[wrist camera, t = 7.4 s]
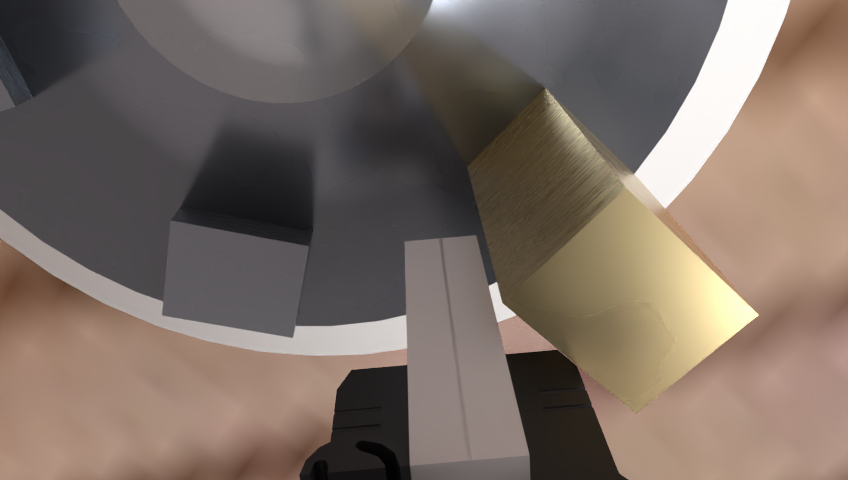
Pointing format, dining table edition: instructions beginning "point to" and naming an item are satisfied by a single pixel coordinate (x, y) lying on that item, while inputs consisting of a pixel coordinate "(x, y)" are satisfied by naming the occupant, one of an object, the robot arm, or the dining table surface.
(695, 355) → the grey round piece
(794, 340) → the dining table surface
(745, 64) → the housing plate
